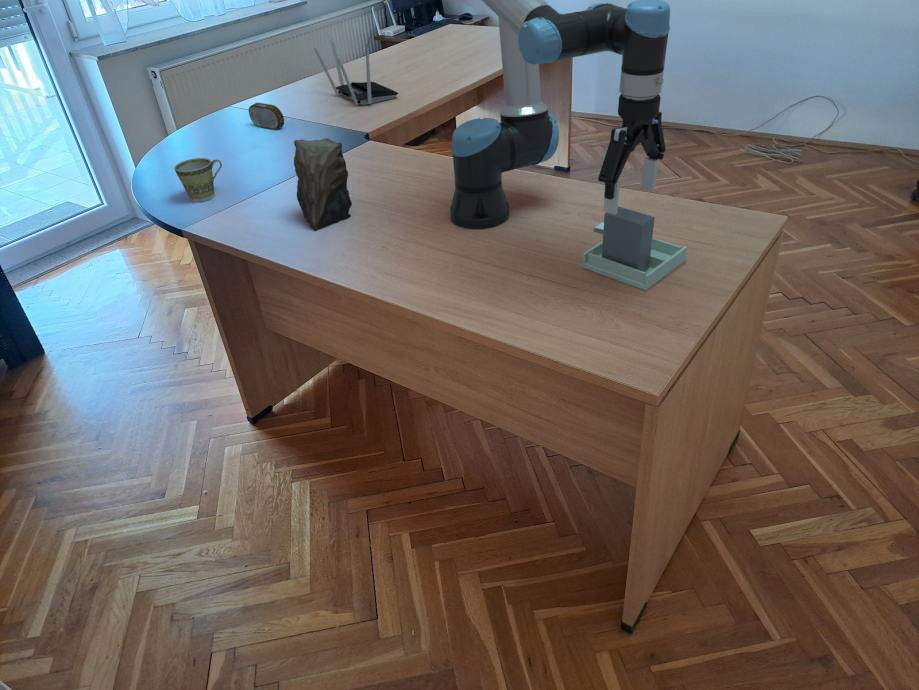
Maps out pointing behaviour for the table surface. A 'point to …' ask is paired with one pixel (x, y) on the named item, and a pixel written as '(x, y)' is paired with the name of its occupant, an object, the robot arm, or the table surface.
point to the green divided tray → (660, 265)
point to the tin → (266, 116)
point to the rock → (321, 182)
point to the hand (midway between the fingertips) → (629, 200)
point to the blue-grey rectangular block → (628, 238)
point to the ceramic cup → (197, 178)
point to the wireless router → (358, 84)
